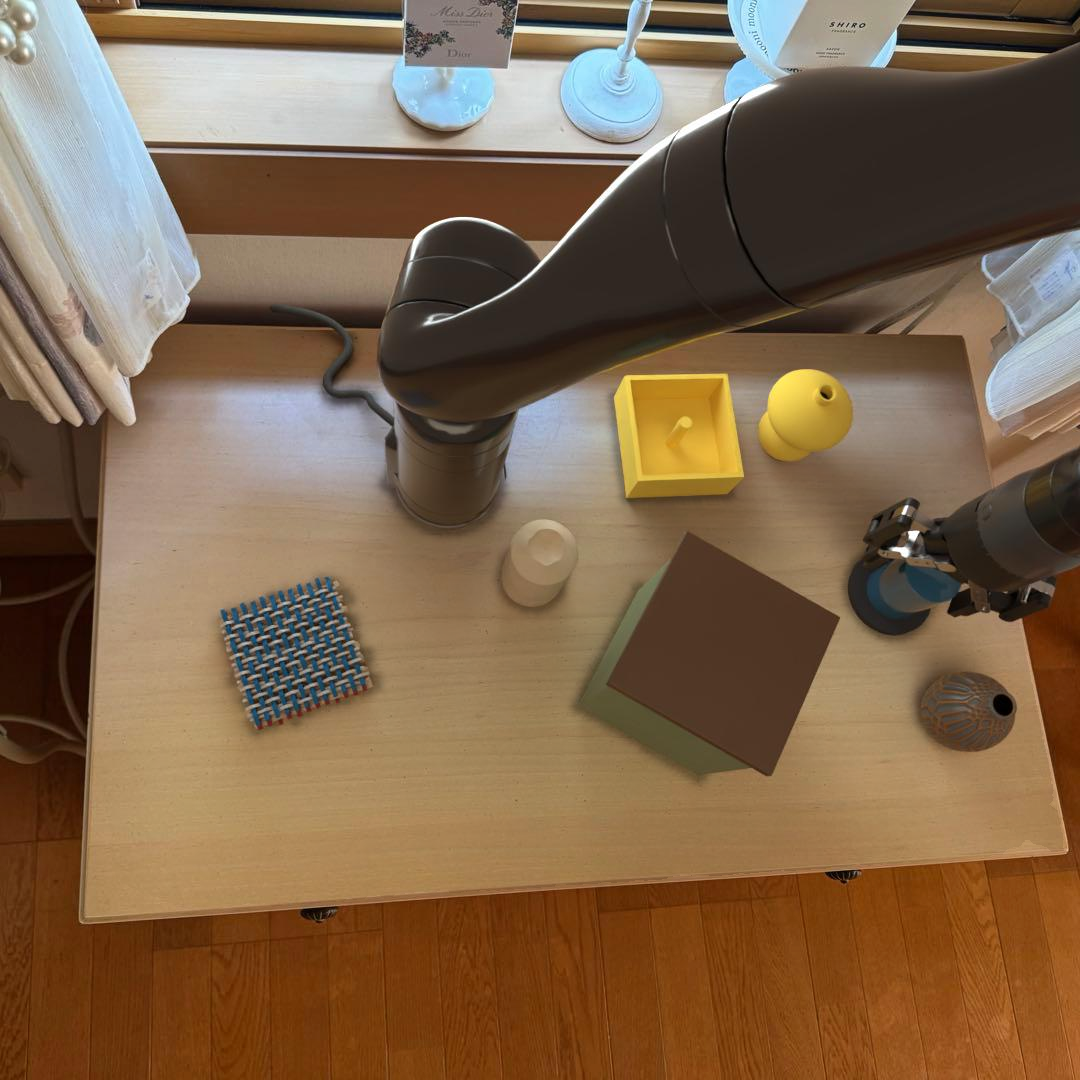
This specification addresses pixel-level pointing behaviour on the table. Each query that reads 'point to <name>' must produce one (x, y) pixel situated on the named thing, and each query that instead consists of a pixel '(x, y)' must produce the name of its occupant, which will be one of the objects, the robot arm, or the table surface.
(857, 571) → the coaster
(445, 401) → the robot arm
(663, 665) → the stand
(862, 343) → the table surface
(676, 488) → the bath set
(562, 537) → the candle
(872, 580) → the blue cylinder
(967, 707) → the vase
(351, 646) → the woven mat
